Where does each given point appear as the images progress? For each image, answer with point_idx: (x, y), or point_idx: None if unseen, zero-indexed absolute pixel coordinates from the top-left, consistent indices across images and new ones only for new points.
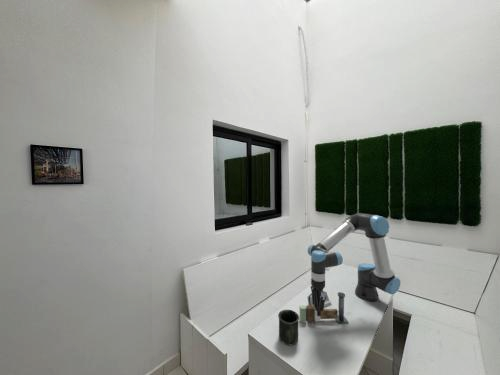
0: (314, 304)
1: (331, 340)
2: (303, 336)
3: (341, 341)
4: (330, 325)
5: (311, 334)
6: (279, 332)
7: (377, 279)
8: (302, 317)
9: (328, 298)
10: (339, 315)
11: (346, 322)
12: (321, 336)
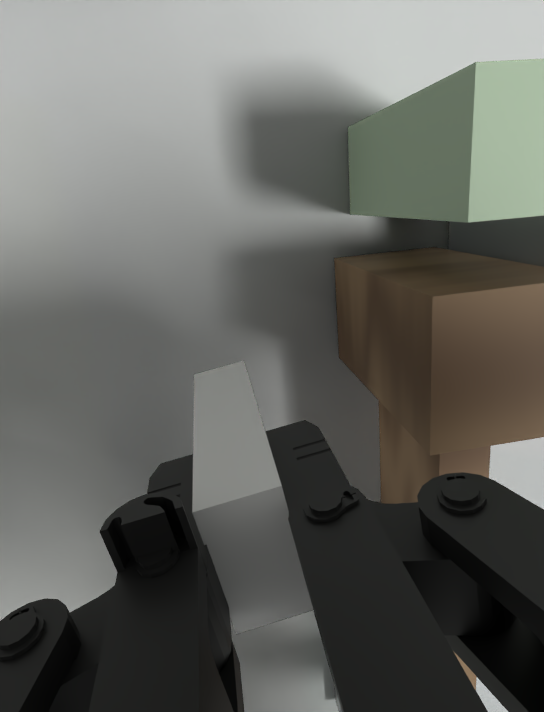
0: (360, 552)
1: (26, 482)
2: (20, 92)
3: (35, 583)
4: None
5: (92, 241)
6: None
7: None
8: (377, 146)
9: None
10: None
11: (337, 695)
12: (77, 376)
